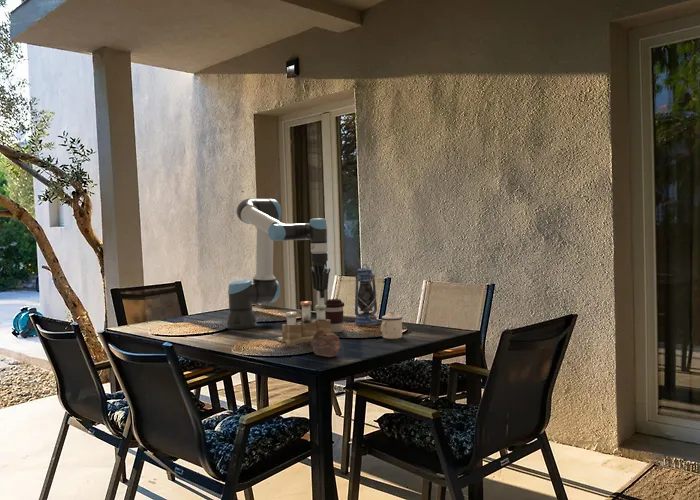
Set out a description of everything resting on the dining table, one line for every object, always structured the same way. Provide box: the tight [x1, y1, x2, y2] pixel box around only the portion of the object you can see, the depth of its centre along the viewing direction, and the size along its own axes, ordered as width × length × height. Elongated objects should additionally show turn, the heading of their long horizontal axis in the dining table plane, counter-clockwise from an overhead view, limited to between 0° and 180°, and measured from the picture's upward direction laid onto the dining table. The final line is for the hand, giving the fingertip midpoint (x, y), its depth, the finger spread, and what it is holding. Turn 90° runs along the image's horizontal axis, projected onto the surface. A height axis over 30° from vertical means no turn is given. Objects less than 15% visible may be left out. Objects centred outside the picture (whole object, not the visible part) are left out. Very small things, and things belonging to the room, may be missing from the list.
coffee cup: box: [324, 298, 345, 334], centre depth 284 cm, size 10×10×15 cm
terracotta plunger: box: [300, 300, 313, 323], centre depth 267 cm, size 5×5×10 cm
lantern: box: [353, 263, 380, 326], centre depth 304 cm, size 15×12×30 cm
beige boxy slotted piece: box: [277, 318, 337, 345], centre depth 267 cm, size 12×23×8 cm, turn 129°
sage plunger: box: [314, 304, 326, 321], centre depth 272 cm, size 5×5×10 cm
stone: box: [311, 330, 341, 358], centre depth 231 cm, size 13×8×10 cm
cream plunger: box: [284, 311, 298, 326], centre depth 262 cm, size 5×5×10 cm
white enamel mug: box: [380, 310, 403, 340], centre depth 265 cm, size 12×9×12 cm
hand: (320, 305), depth 272 cm, fingers closed
